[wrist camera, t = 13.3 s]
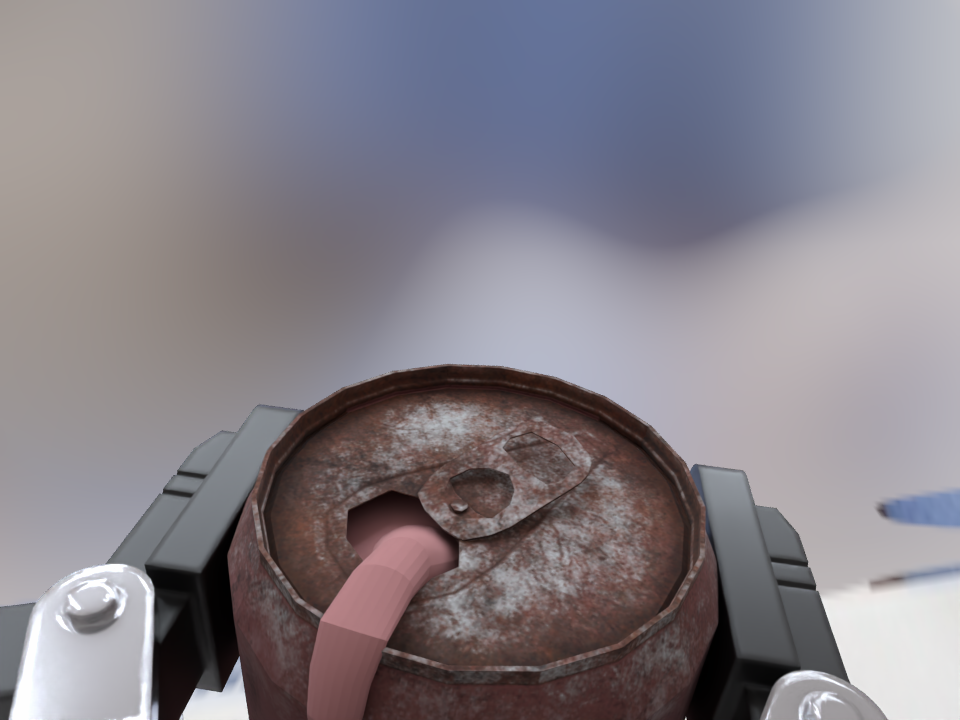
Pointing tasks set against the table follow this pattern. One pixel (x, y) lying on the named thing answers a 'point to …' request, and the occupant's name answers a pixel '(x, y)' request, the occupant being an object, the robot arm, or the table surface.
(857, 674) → the table surface
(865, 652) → the table surface
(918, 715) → the table surface
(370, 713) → the can
